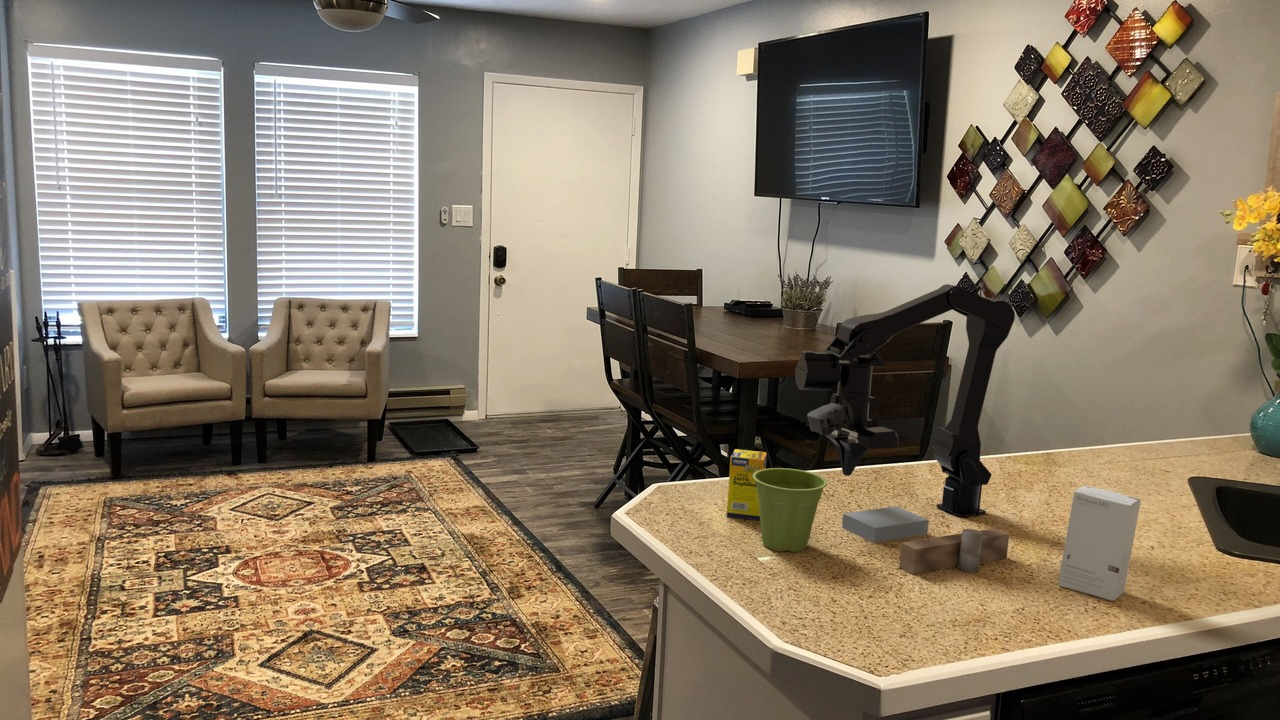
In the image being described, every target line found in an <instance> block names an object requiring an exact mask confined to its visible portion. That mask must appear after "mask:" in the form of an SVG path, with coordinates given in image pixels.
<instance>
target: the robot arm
mask: <svg viewBox="0 0 1280 720" xmlns="http://www.w3.org/2000/svg"><path fill="white" fill-rule="evenodd" d="M950 311H954V312H956V313H957V314H960V315H963V316H965V317H966V320H965V321H966V324H965V330H966V335H967V339H968V340H967V341H968V349H967V352H966V356H965V361H964V364H963V369H962V373H961V378H960V380H959V381H960V382H959V386H958V391H957V393H956V398H955V402H954V407H953V411H952V415H951V418H950V420H949V422H948V423H947V424H946V426H945V427H940V426H937V428H936V429H935V430H936V431H935V439H934V441H933V444H931V448H933V449H934V450H933V455H934V458H935V460H936V462H937V463H938V464H939V465H940V469H941V472H942V473H944V474H946V475H947V477H945V480H944V486H943V490H942V491H943V492H942V499H941V503H937V504H936V505H935V507H936V508H938V509H940V510H943V511H946V512H948V513H950V514H953V515H955V516H957V517H961V518H962V517H970V516H971V517H972V516H977V515H984V514H987V511H986V509H982V508H980V507H981V498H982V490H983V486H985V485H988V483H989V482H990V480H991V477H992V473H991V472H990V470H989V469H988V468H987V467H986V466H985V465H984V463H983V462H982V461H981V453H982V452H981V450H982V442H981V441H982V440H981V436H980V431H979V424H980V419H981V416H982V411H983V407H984V403H985V399H986V395H987V390H988V387H989V383H990V379H991V375H992V370H993V367H994V362H995V357H996V353H997V351H998V349H999V348H1000V347H1001V346H1002V344H1003V343H1004V342H1005V341H1006V339H1007V338H1008V337H1009V334H1010V332H1011V329H1012V327H1013V325H1014V322H1015V318H1016V312H1015V310H1014V309H1013V307H1012V304H1010V303H1009V302H1008V301H1005V300H1002V299H996V298H992V297H985V296H984V297H983V296H981V295H978V294H976V293H973V292H971V291H969V290H966V289H964V288H963V287H962V286H960V285H954V284H949V283H947V284H943V285H941V286H940V287H938V288H937V289H934V290H932V291H930V292H927V293H925V294H923V295H920V296H918V297H916V298H914V299H911V300H909V301H906V302H905V303H902V304H900V305H897V306H895V307H892V308H890V309H888V310H886V311H883V312H877V313H872V314H864V315H859V316H855V317H854V316H853V317H851V318H847V319H845V320H844V321H843V322H841V323H840V327H839V328H838V332H837V334H836V336H834V338H833V340H832V341H831V342H830V343H829V344H828V346H827V347H826V348H825V349H824V351H811V350H802V351H801V354H800V355H801V356H800V358H799V359H798V361H797V364H796V366H795V368H794V369H795V372H794V376H795V377H794V378H795V383H796V387H797V388H798V390H803V391H804V390H806V391H807V390H808V391H809V390H810V391H811V390H814V391H815V390H816V391H817V390H818V391H830V390H831V391H832V390H833V389H834V388H835V387H837V391H836V393H832V394H831V396H830V401H829V403H828V404H824V405H822V406H820V407H818V408H816V409H814V410H811V411H810V412H808V413H807V415H806V424H805V425H806V427H809V428H810V431H811V432H812V433H814V432H815V433H817V434H820V435H821V436H825V437H826V438H827V439H829V440H830V442H832V443H833V444H834V446H835V448H836V452H837V455H838V459H839V462H840V464H839V465H840V467H841V472H842V474H843V476H845V477H849V476H852V474H853V472H854V470H855V469H856V468H857V465H858V464H859V463H860V460H861V459H862V458H863V456H864V454H865V453H866V452H867V451H868V449H870V450H878V449H890V448H891V449H892V448H898V443H899V435H898V433H897V432H896V431H895V430H893V429H891V428H890V429H889V428H887V427H884V426H873V425H874V419H870V418H869V414H870V413H869V412H870V404H875V402H876V397H874V396H871V389H872V380H873V379H872V378H873V368H874V367H877V368H878V367H879V368H880V367H885V365H886V363H885V362H884V361H883V360H882V359H881V358H880V357H879V356H878V355H879V354H878V353H877V352H875V351H877V350H878V349H880V348H882V347H883V346H884V345H886V344H887V343H888V342H889V341H890V340H891V339H892V338H893V337H894V336H896V335H897V334H898V333H901V332H903V331H905V330H908V329H911V328H912V327H915V326H918V325H920V324H922V323H924V322H927V321H929V320H931V319H934V318H937V317H938V316H940V315H943V314H945V313H947V312H950Z"/></svg>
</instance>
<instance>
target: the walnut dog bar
mask: <svg viewBox="0 0 1280 720" xmlns="http://www.w3.org/2000/svg"><path fill="white" fill-rule="evenodd" d="M1009 539H1010V534H1009V533H1007V532H1005V531H1003V530H1000V529H997V528H988V529H982V530H978V529H977V530H976V529H973V528H972V529H971V528H965V529H962V531H961V533H956V534H949V535H944V536H937V537H930V538H923V539H916V540H911V541H905V542H901V544H900V545H901V547H900V556H899V557H900V558H899V565H898V568H899V569H901V570H903V571H905V572H907V573H909V574H911V575H917V574H924V573H929V572H935V571H941V570H947V569H952V568H957V569H958V570H959V571H961V572H965V573H968V574H975V573H979V569H980V563H981V564H982V563H987V562H991V561H998V560H1002V559H1004V560H1005V559H1007V558H1008V549H1009V541H1010V540H1009Z"/></svg>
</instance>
